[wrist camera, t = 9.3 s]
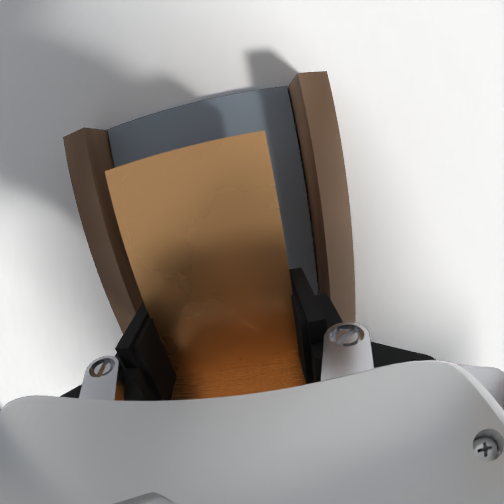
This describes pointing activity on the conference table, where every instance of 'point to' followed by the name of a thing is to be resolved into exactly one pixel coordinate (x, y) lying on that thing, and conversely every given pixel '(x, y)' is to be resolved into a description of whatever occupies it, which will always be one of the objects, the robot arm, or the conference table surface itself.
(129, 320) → the bay walls
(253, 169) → the bracket
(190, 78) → the conference table surface
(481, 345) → the conference table surface
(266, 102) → the bay mat
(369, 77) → the conference table surface
